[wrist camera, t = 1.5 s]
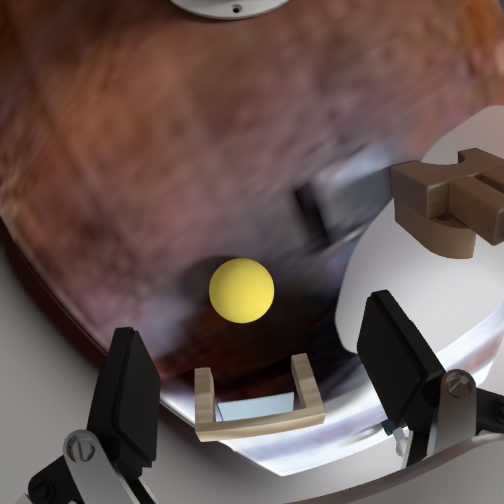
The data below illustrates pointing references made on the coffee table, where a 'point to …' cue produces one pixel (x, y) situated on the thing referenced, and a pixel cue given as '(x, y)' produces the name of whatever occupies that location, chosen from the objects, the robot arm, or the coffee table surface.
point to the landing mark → (257, 407)
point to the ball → (241, 290)
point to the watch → (396, 435)
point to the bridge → (262, 425)
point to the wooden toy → (451, 202)
